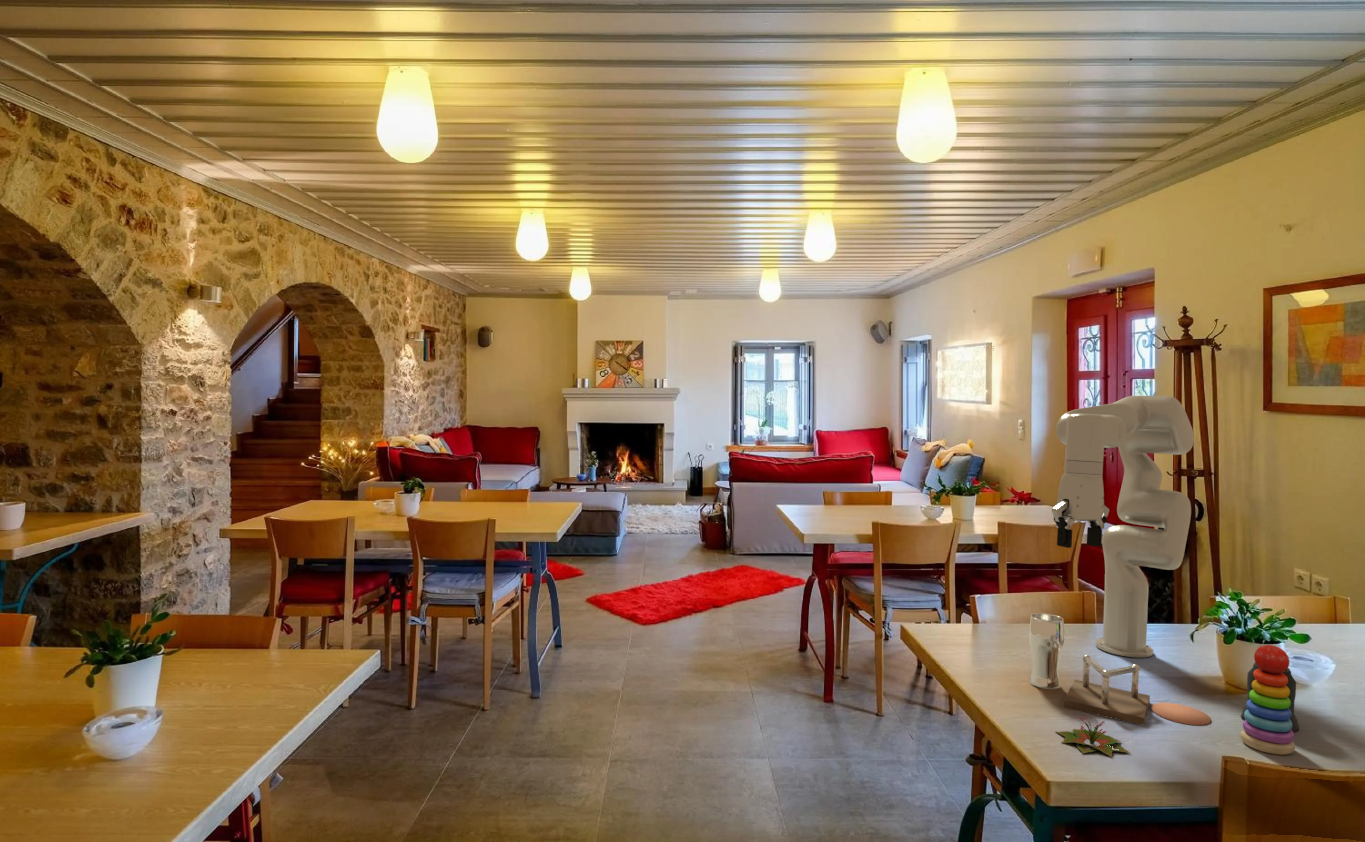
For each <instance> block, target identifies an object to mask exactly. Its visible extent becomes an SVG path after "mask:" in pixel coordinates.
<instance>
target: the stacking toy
mask: <svg viewBox="0 0 1365 842" xmlns="http://www.w3.org/2000/svg"><path fill="white" fill-rule="evenodd" d="M1253 655H1254V656H1253V659H1254V663H1255V662H1256V664H1257V666H1258V667H1259V669H1256V670H1255V671H1254V673H1253V676H1254V678H1255V679H1256V680H1254V681H1253V682H1252V688H1253V690H1251V691H1250V693H1249V698H1250V700H1248V701H1247V700H1246V704H1245V705H1246V707H1247V710H1246V711H1245V713H1244V717H1245V719H1246V720H1245V721H1244V720H1243V722H1242V728H1243V729H1242V730H1241V731H1240V735H1239V736H1240V739H1241V740H1242V742H1243V743H1244V745H1246V746H1248V747H1250V748H1252V749H1255V750H1257V751H1260V752H1263V753H1267V754H1272V755H1280V756H1281V755H1283V756H1284V755H1290V754H1292V753H1294V751H1295V750H1296V745H1295V743H1294V740H1295V736H1296V735H1295V733H1293V731H1292V730H1291V729H1292V722H1291V720H1290V717H1291V715H1292V714H1291V711H1290V709H1289V707H1290V705H1291V702H1290V699H1289V698H1288V696H1289V695H1290V690H1289V688H1288V687H1287V686H1286V684H1287V683H1288V678H1287V676H1286V675H1285V674H1283V673H1282V672H1284V671H1285V670H1287V668H1289V666H1290V657H1289V656H1288V654H1287V653H1286V651H1285V650H1283V648H1281V647H1279V646H1276V645H1271V644H1265V645H1261V646H1259V647H1258V648H1257V649H1256V650H1255V652H1254V654H1253Z"/></svg>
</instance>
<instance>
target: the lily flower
mask: <svg viewBox="0 0 1365 842" xmlns="http://www.w3.org/2000/svg"><path fill="white" fill-rule="evenodd" d="M1084 717H1085V719H1086V720H1088V717H1087V716H1084ZM1078 719H1079V720H1080V721H1082V722H1083V723H1084V725H1085V727H1087V729H1086V728H1085V727H1083V726H1082V725H1080V729H1079V728H1078V729H1076V728H1073V729H1072V731H1067V730H1066V731H1065V730H1064V731H1056V734H1058V735H1060V736H1063V737H1064V739H1063V741H1062V742H1060V743H1061V744H1066V743H1076V746H1077V748H1078V750H1080V752H1081V754H1086V753H1092V752H1098V751H1100V752H1102V753H1104V754H1106V755H1107V756H1108V757H1110V758H1113V756H1112V755H1113V752H1121V753H1128V754H1131V752H1130V751H1128V749H1125V748H1124V747H1123V746H1121V745H1118V744H1116V743H1122V741H1120V740H1119V739H1117V738H1115V737H1112V736H1110V735H1106V733H1107V731H1106V730H1105V731H1103V728H1102V729H1099V728H1100V727H1101V726H1103V725H1104V724H1105V721H1101V723H1099V724H1097V725H1093V727H1092V724H1090V722H1089V721H1087V722H1086V721H1084V720H1083V719H1082V718H1081V717H1079V718H1078ZM1093 723H1094V724H1095V723H1096V718H1094V722H1093ZM1102 731H1103V732H1102ZM1085 741H1089V743H1090V744H1088V743H1086V742H1085ZM1095 743H1097V744H1098V745H1099V744H1100V745H1099V746H1098V745H1097V746H1096V745H1095ZM1092 744H1093V745H1092ZM1085 745H1086V746H1089V747H1092V748H1086V747H1085ZM1107 745H1108V746H1107ZM1109 745H1110V746H1111V747H1110V746H1109ZM1112 746H1113V748H1114V749H1119V751H1118V750H1112Z"/></svg>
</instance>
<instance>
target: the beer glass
mask: <svg viewBox="0 0 1365 842" xmlns="http://www.w3.org/2000/svg"><path fill="white" fill-rule="evenodd" d="M1029 621H1030V622H1029V629H1028V631H1029V632H1028V633H1029V634H1028V643H1029V651H1030V656H1031V672H1030V676H1029V684H1031V686H1034V687H1035V688H1039V689H1042V688H1043V690H1052V691H1053V690H1058V689H1060V687H1061V681H1060V674H1059V672H1060V671H1059V670H1060V664H1061V659H1062V657H1063V656H1062V655H1063V650H1064V646H1065V645H1064V644H1065V624H1064V623H1065V622H1064V621H1065V620H1064V618H1063V617H1061V616H1059V615H1056V614H1051V613H1046V612H1045V613H1042V612H1036V613H1035V612H1034V613H1031V614H1030V619H1029Z"/></svg>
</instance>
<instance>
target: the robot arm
mask: <svg viewBox="0 0 1365 842" xmlns="http://www.w3.org/2000/svg"><path fill="white" fill-rule="evenodd" d="M1057 421H1058V422H1057V423H1056V428H1055V429H1056V430H1055V433H1056V437H1057V440H1058V441H1059V442H1060V443H1062V444H1063V445H1065V452H1064V453H1065V454H1064V469H1063V471H1064V472H1063V474H1062V475H1061V478H1060V482H1059V486H1058V492H1057V500H1056V505H1055V506H1053V507H1052V508H1051V512H1052V515H1053V522H1054V523H1055V528H1057V533H1056V534H1057V536H1056V546H1058V547H1062V548H1067V549H1070V548H1072V545H1073V544H1072V543H1073V529H1071V527H1072V526H1073V524H1074V523H1075V521H1076V522H1087V524H1088V525H1089V526H1087V531H1086V544H1087V545H1088V546H1091V547H1092V546H1093V547H1098V548H1101V547H1102V551H1103V552H1102V553H1103V558H1104V572H1105V573H1104V600H1103V620H1102V621H1103V622H1102V623H1103V624H1102V626H1103V627H1102V637H1100V638H1097V639H1096V640H1095V646H1096V647H1097V648H1098V649H1099V650H1102V651H1104V652H1107V653H1108V654H1109V653H1110V654H1113V655H1117V656H1120V657H1127V658H1138V659H1139V658H1149V657H1152V656H1153V655H1154V649H1153V648H1152V647H1151V646H1150V645H1147V632H1148V631H1147V630H1148V603H1149V582H1148V579H1147V577H1146V575H1145V574H1144V571H1142V569H1141V568H1140V567H1148V568H1153V569H1154V568H1155V569H1159V570H1167V571H1170V570H1171V571H1173V570H1176V569H1178V568H1180V566H1181V564H1182V563H1183V559H1184V556H1185V550H1186V544H1187V540H1188V535H1189V529H1190V524H1191V516H1192V506H1191V505H1192V503H1191V500H1190V499H1189V497H1188V496H1187V494H1185V493H1183V492H1180V491H1177V490H1169V489H1167V490H1166V489H1161V486H1162V480H1163V473H1162V471H1161V469H1160V468H1159V466H1158V465H1157V463H1156V462H1155V461H1154V460H1153V459H1152V458H1151V457H1150V456H1149V455H1148V454H1156V455H1159V454H1161V455H1174V456H1177V455H1184V454H1185V455H1186V454H1187V453H1188V452H1190V451H1191V450H1192V448H1193V446H1194V442H1195V435H1194V431H1193V430H1194V429H1193V427H1192V425H1191V422H1190V419H1189V416H1188V415H1187V412H1186V410H1185V408H1184V406H1183V405H1182V404H1181V402H1180V401H1179V400H1178V399H1177V398H1175V397H1173V396H1170V395H1130V396H1129V395H1128V396H1126V397H1123V398H1121V399H1119V400H1117V401H1115V402H1112V403H1108V404H1107V403H1105V404H1101V405H1095V406H1088V407H1081V408H1077V409H1073V410H1070V411H1067V412H1065V413H1064V414H1063V415H1062V416H1061V417H1060V418H1059V419H1058V420H1057ZM1107 448H1108V449H1114V448H1118V452H1119V455H1120V458H1121V462H1122V465H1123V477H1122V482H1121V486H1120V487H1121V488H1120V491H1119V496H1118V502H1117V507H1116V512H1117V513H1116V514H1117V516H1118V518H1119V520H1121V521H1122V522H1124V523H1128V524H1132V525H1127V524H1117V525H1111V526H1109V527H1107V528H1106V529H1105V523H1106V522H1107V520H1108V516H1109V512H1110V508H1108V507H1107V505H1105V499H1104V498H1105V492H1104V480H1103V472H1104V470H1103V469H1104V452H1105V451H1104V450H1105V449H1107ZM1134 525H1135V526H1134ZM1136 525H1138V526H1136ZM1143 526H1144V527H1143ZM1145 526H1147V527H1145ZM1148 527H1149V528H1148ZM1150 527H1153V528H1150ZM1158 528H1162V529H1158ZM1103 529H1105V531H1104V532H1103Z"/></svg>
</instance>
